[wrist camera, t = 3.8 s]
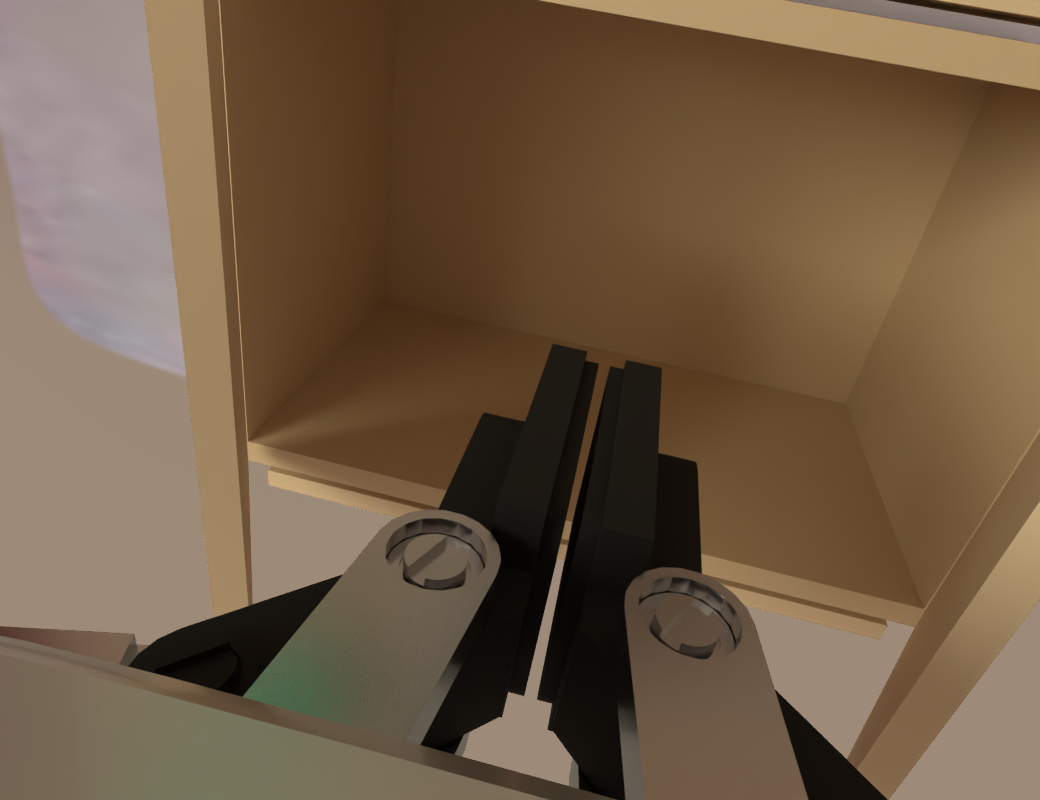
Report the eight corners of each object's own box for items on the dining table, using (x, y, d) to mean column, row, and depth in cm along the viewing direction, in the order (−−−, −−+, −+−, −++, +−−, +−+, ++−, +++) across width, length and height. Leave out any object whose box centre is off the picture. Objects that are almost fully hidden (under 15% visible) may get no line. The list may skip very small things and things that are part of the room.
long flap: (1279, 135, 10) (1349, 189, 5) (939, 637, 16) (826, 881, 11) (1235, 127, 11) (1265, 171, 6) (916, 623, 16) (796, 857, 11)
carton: (1049, 8, 19) (1353, 27, 10) (847, 436, 26) (927, 657, 17) (388, -104, 20) (175, -167, 12) (370, 327, 27) (229, 480, 19)
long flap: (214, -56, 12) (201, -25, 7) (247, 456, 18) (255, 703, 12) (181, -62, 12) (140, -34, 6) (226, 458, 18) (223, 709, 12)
